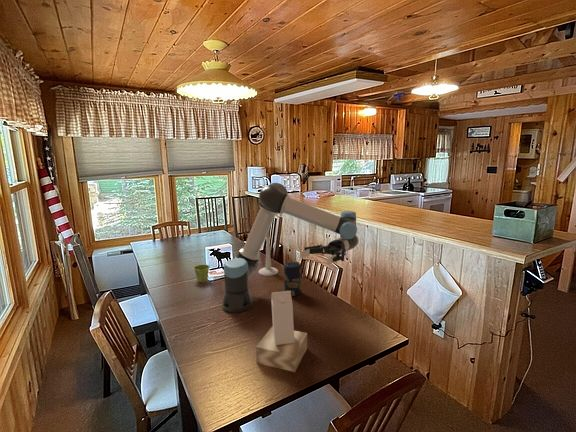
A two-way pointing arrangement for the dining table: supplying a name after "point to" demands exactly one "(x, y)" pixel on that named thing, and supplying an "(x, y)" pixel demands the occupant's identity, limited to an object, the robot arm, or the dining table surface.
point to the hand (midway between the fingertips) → (313, 258)
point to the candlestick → (268, 261)
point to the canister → (292, 278)
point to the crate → (281, 351)
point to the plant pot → (201, 272)
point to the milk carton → (282, 317)
